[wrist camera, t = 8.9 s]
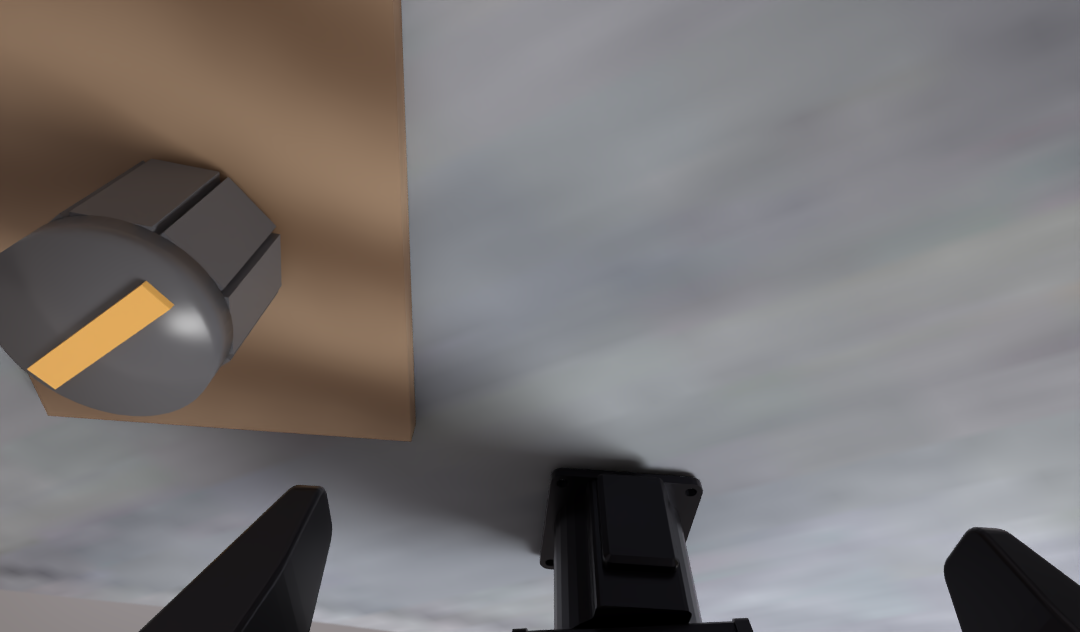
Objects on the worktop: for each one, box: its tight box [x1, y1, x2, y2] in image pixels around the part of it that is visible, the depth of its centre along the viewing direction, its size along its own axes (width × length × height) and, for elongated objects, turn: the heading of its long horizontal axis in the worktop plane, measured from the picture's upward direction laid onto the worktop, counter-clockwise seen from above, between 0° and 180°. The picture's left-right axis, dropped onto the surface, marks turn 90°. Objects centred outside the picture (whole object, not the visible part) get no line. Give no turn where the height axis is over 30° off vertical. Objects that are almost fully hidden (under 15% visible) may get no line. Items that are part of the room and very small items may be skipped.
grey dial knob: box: [0, 159, 282, 416], centre depth 18 cm, size 7×5×5 cm
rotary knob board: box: [0, 0, 416, 442], centre depth 18 cm, size 18×14×5 cm
